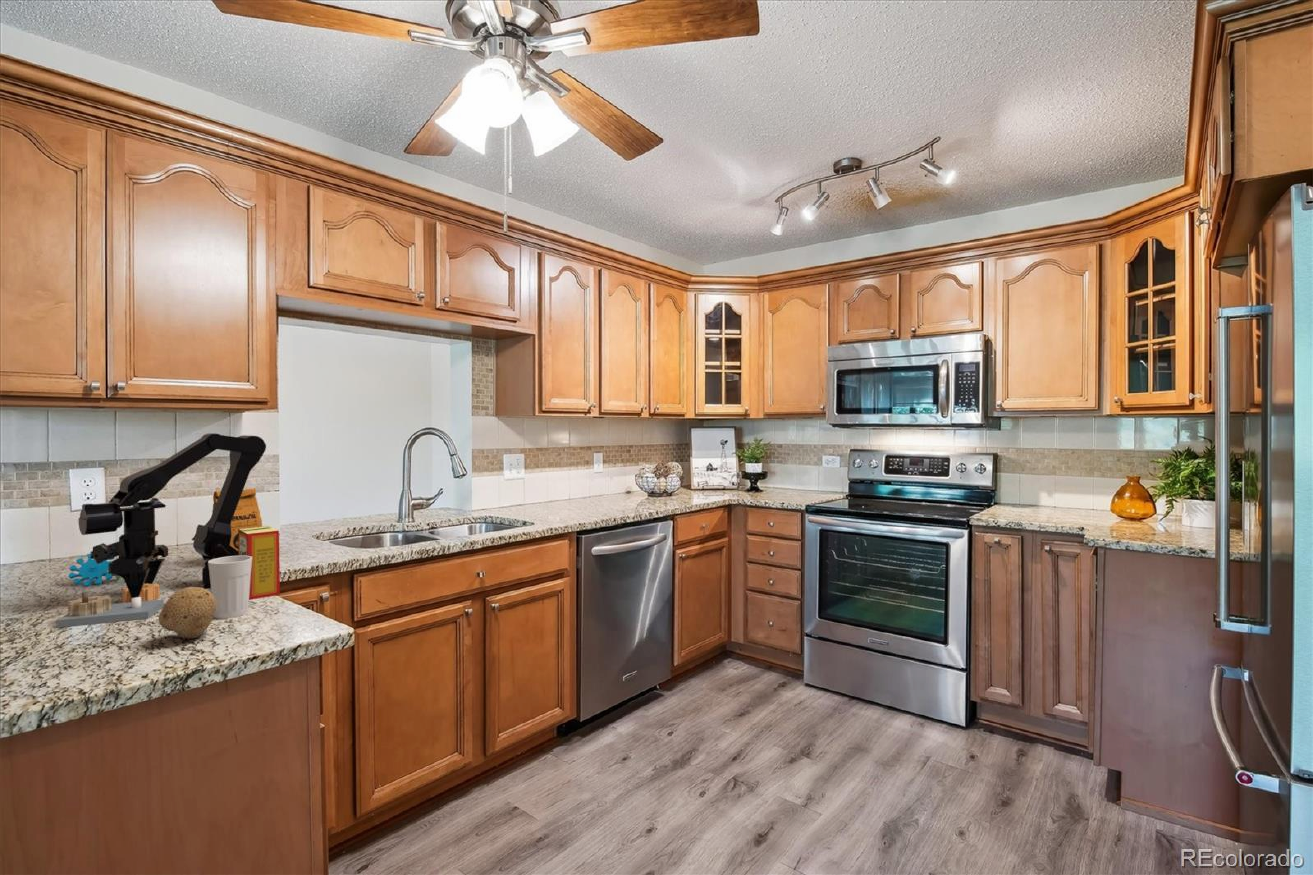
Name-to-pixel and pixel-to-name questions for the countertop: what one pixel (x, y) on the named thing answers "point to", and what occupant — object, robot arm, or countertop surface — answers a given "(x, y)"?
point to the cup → (230, 585)
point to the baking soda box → (261, 559)
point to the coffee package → (243, 514)
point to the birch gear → (89, 605)
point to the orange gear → (143, 593)
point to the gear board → (116, 613)
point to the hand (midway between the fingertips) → (141, 594)
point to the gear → (91, 571)
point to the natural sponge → (188, 612)
